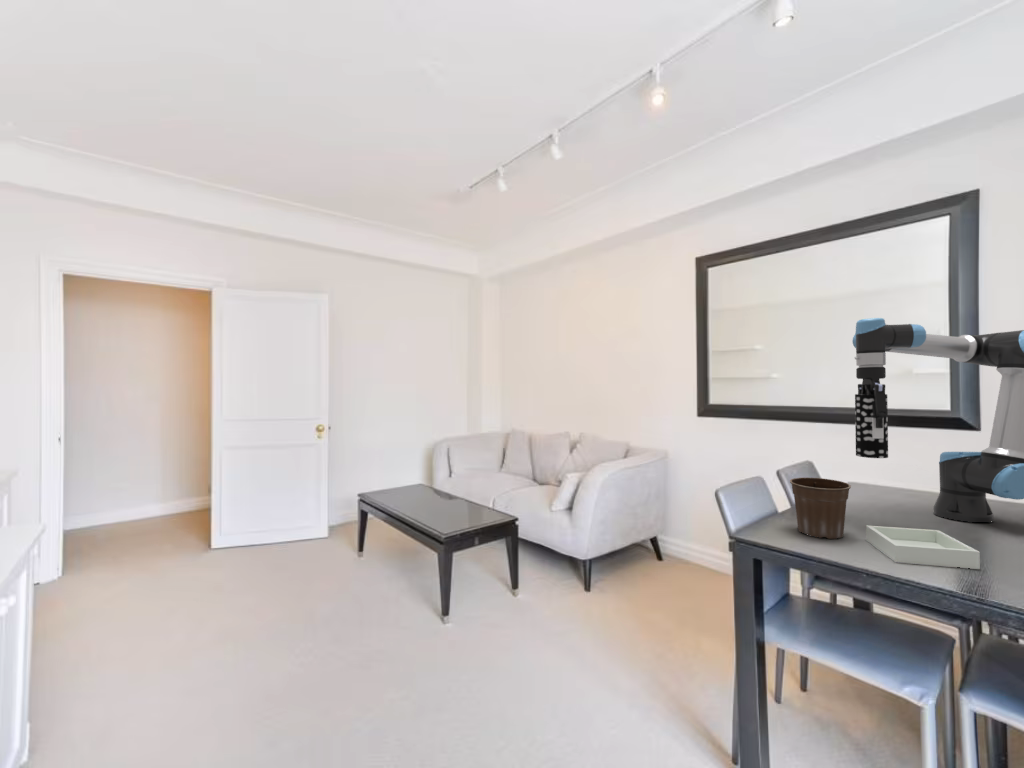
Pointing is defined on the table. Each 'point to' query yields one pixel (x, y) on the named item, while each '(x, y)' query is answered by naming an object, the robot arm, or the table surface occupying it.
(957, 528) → the table surface
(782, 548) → the table surface
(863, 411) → the spotted tube
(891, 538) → the tray
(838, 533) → the plant pot
